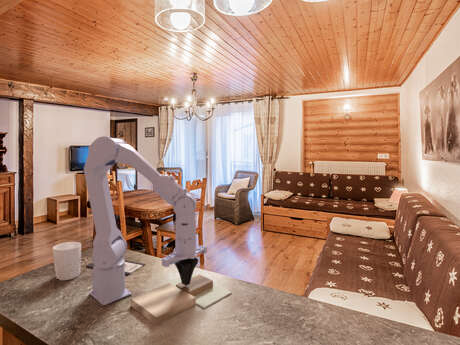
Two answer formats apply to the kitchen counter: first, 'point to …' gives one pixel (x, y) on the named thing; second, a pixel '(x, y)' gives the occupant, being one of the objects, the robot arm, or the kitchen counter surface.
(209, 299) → the sage mat
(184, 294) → the block
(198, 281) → the walnut tile
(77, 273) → the white cup
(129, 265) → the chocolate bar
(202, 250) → the robot arm
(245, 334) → the kitchen counter surface
